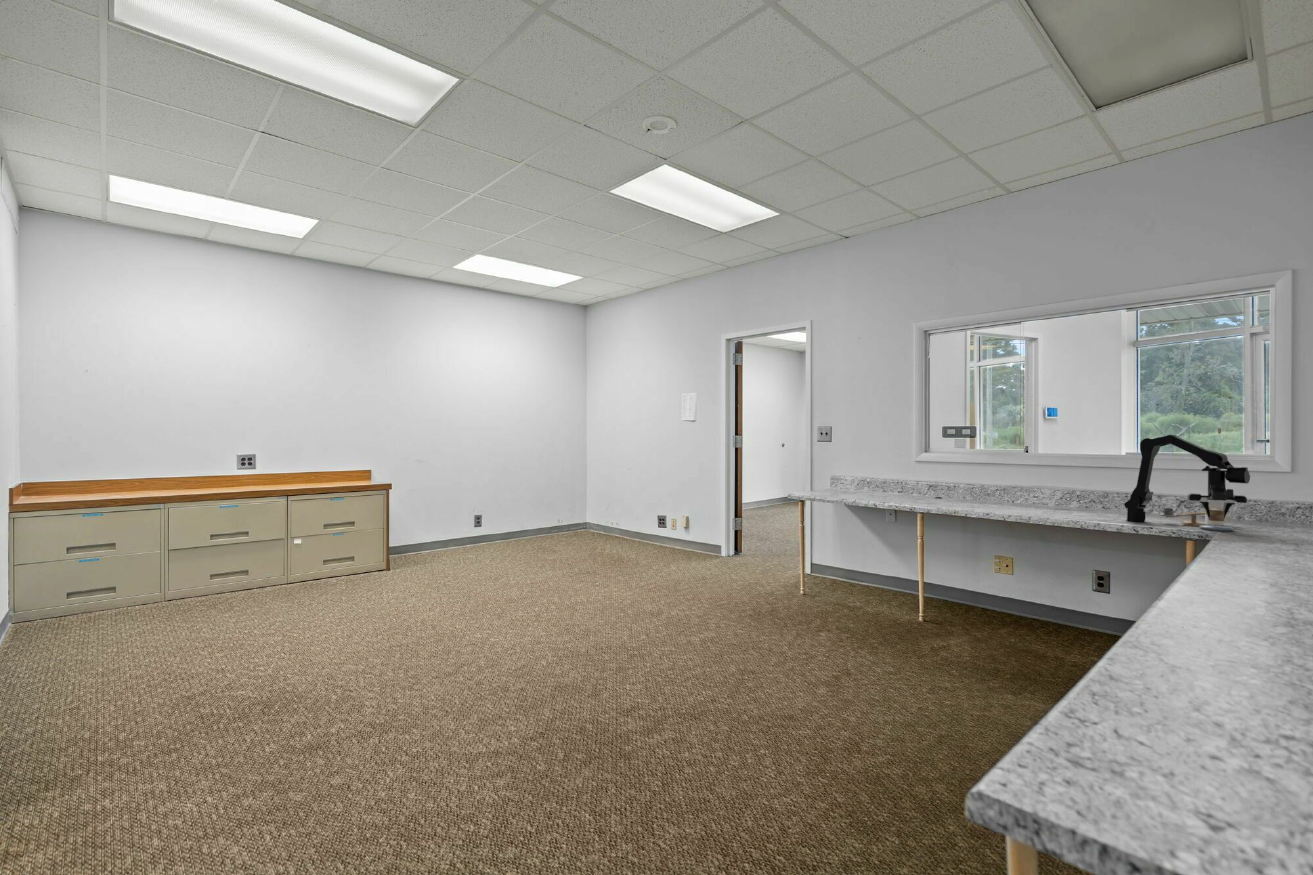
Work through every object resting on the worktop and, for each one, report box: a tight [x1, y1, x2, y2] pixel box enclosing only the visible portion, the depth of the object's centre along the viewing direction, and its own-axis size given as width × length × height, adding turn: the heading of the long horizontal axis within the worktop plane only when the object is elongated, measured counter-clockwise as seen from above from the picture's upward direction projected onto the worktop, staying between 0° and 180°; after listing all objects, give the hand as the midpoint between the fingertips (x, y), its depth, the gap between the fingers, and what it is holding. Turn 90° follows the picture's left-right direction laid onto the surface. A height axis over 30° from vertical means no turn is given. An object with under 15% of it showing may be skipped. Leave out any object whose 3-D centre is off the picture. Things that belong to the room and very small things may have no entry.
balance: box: [1159, 506, 1230, 527], centre depth 286 cm, size 24×6×8 cm, turn 57°
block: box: [1208, 509, 1225, 522], centre depth 273 cm, size 4×4×4 cm
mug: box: [1204, 500, 1235, 526], centre depth 287 cm, size 10×7×12 cm, turn 54°
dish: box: [1199, 524, 1235, 532], centre depth 273 cm, size 11×11×1 cm
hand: (1216, 517), depth 273 cm, fingers closed on block, 4 cm apart
